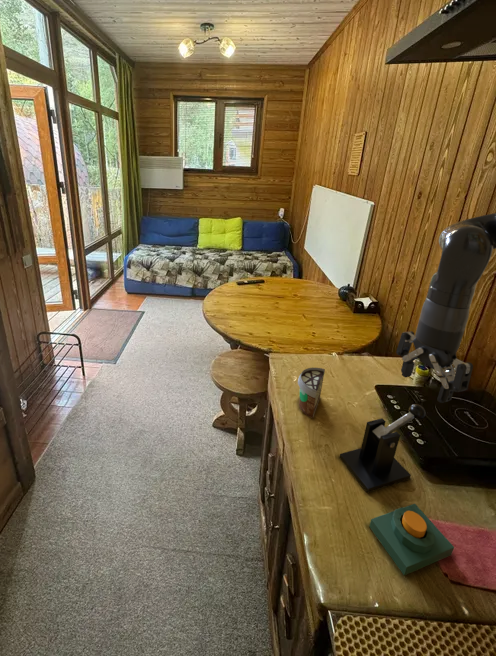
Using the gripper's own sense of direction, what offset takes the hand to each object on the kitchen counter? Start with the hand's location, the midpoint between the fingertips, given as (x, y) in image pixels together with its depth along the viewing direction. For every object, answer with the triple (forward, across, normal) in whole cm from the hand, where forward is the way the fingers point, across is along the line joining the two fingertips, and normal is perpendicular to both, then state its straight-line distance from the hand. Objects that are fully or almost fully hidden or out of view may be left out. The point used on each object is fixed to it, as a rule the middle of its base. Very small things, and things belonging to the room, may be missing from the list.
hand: (423, 387), depth 67 cm
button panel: (+21, -14, +13) cm, 29 cm away
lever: (+11, 0, +3) cm, 11 cm away
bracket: (+21, 0, +8) cm, 23 cm away
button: (+18, -14, +13) cm, 26 cm away
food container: (+22, +23, +12) cm, 34 cm away
